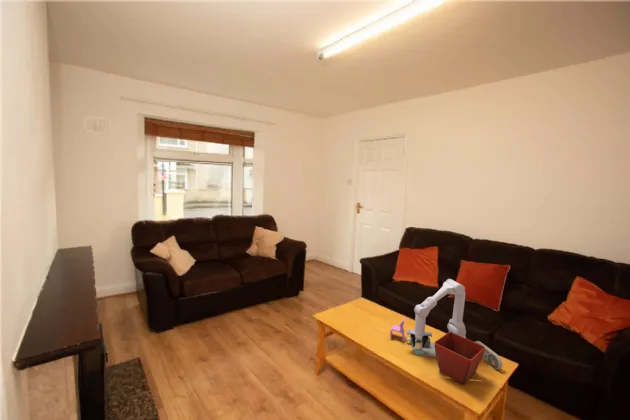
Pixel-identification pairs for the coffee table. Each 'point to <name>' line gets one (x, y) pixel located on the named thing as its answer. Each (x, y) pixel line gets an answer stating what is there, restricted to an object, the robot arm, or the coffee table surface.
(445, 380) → the coffee table surface
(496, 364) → the game controller
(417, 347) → the cream canister
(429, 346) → the motor assembly
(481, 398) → the coffee table surface
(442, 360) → the plant pot
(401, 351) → the coffee table surface
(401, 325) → the toy chair
